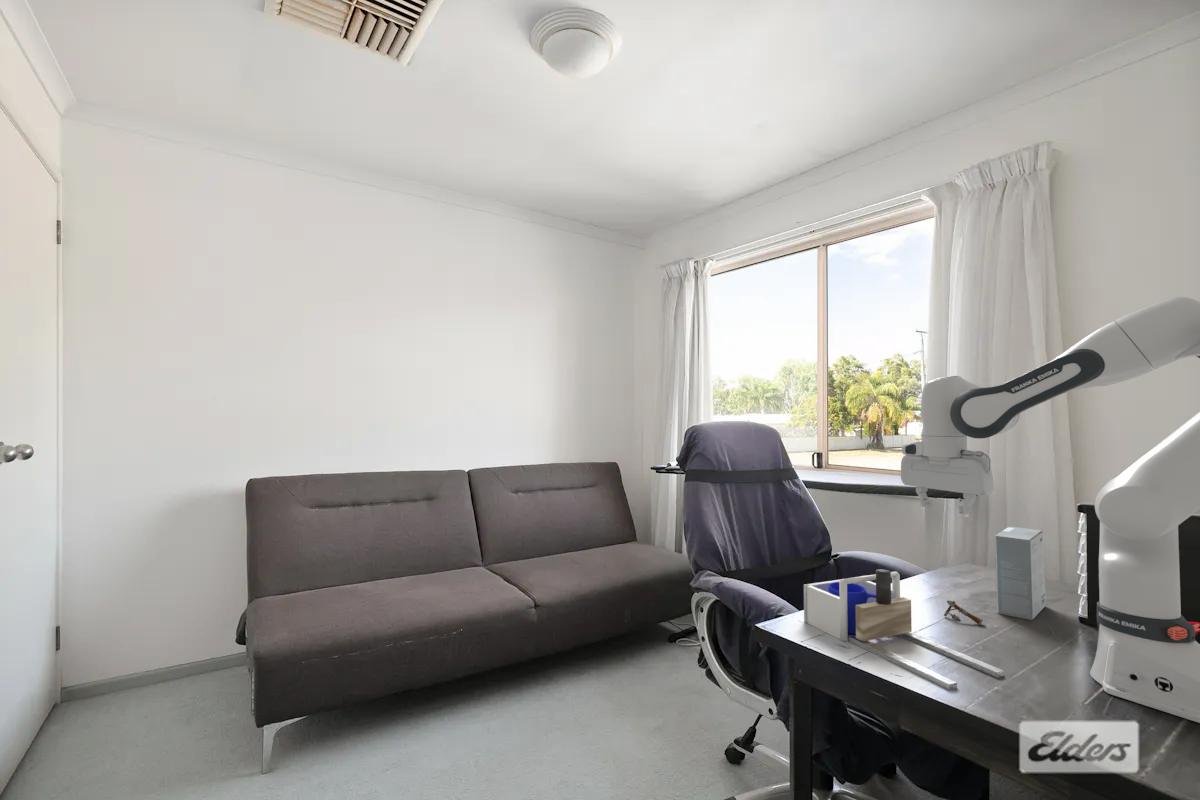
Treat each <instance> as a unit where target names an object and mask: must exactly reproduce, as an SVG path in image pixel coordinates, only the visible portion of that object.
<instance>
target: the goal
mask: <svg viewBox="0 0 1200 800" xmlns="http://www.w3.org/2000/svg"><path fill="white" fill-rule="evenodd" d="M890 572H891V599H896V598H901V581H900V579H901V577H900V574H899V572H898V571H890ZM873 581H876V573H875V574H870V575H869V574H868V575H861V576H855V577H853V576H852V577H848V578H841V579H834V580H827V581H820V582H813V583H807V584H803V622H804V623H806V624H808V625H810V626H812V627H814V628H816V629H818V630H820V631H822V632H825V633H826V634H828V635H830V636H832V637H834V638H836V639H838V640H840V641H842V642H849V634H848V615H847V584H851V583H853V584H857V585H860V586H862V587H864V588H865V589H866V592H867V593H871V594H876V582H873ZM835 582H839V595H840V597H838V596H836V595H833V594H831V593H829V590H828V585H829V584H831V583H835ZM872 602H876V598H873V597H870V598H868V599H867V603H872Z"/></svg>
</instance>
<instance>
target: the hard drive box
mask: <svg viewBox="0 0 1200 800" xmlns="http://www.w3.org/2000/svg"><path fill="white" fill-rule="evenodd" d="M994 552H995V553H994V555H995V557H994V558H995V560H994V561H995V581H996V582H995V584H996V585H995V588H996V589H995V590H996V612H997V614H999V615H1005V616H1009V617H1014V618H1019V619H1024V620H1027V621H1028V620H1029V621H1033V620H1034V619H1035V618H1036V617H1037V616H1038V614H1039V613H1040V612H1041V611H1042V610H1043V609H1044V608H1045V607H1046V604H1047V602H1046V579H1045V577H1046V576H1045V559H1044V557H1045V556H1044V554H1045V553H1044V534H1043V530H1041V529H1034V528H1033V529H1032V528H1027V527H1026V528H1024V527H1017V526H1008V527H1007V528H1005V529H1003V530H1001V531H1000V532H999V533H997V534H996V535H994Z"/></svg>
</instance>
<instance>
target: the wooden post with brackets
mask: <svg viewBox="0 0 1200 800" xmlns="http://www.w3.org/2000/svg"><path fill="white" fill-rule="evenodd" d="M946 603H947V604H948V605H949V606H948V608H947V609H946V610H945V611H944V614H943V616H944V617H947V616H948V615H949V616H950V617H951V619H953V620H955V621H959V622H960V621H961V618H960V616H958V615H956V613H954V614H953V613H952V612H951V611H955V610H957V611H958V612H959V613H961V614H962V615H964V616H965V617H968V618H969V619H970V620H972V621H973V622H975V623H976V625H977V626H978V627H980V625H981V624H982V623H983V621H984V617H981V618H980V617H978V616H976V615H973V614H972V613H970V612H969V611H967V610H966V609H965V608H963V607H960V606H959V605H958V604H957V603H956V601H955V600H953V601H952V600H949V599H947V600H946ZM950 612H951V613H950Z"/></svg>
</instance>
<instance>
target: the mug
mask: <svg viewBox="0 0 1200 800" xmlns="http://www.w3.org/2000/svg"><path fill="white" fill-rule="evenodd" d="M828 590H829V593H831V594H833V595H836V596H838V597H840V595H839V582H835V583H831V584H829V585H828ZM870 597H873V598H876V594H871V593H867V592H866V589H865V588H864V587H862V586H860V585H857V584H853V583H851V584H847V615H848V635H853V634H855V635H856V606H855V605H860V604H866V603H867V599H868V598H870Z"/></svg>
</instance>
